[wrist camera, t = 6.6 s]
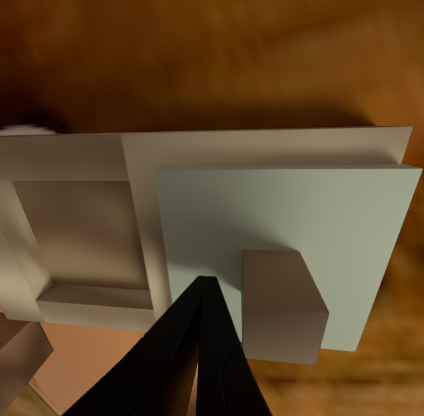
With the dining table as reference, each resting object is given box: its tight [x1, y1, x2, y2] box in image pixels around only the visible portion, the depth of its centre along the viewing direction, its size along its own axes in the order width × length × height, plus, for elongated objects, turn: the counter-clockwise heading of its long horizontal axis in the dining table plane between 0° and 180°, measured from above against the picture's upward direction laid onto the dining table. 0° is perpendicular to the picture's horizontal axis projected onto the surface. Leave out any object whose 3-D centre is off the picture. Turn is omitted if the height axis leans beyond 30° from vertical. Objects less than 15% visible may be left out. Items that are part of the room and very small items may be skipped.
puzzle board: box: [0, 126, 413, 332], centre depth 12 cm, size 12×22×2 cm, turn 92°
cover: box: [154, 164, 423, 365], centre depth 8 cm, size 9×9×4 cm
